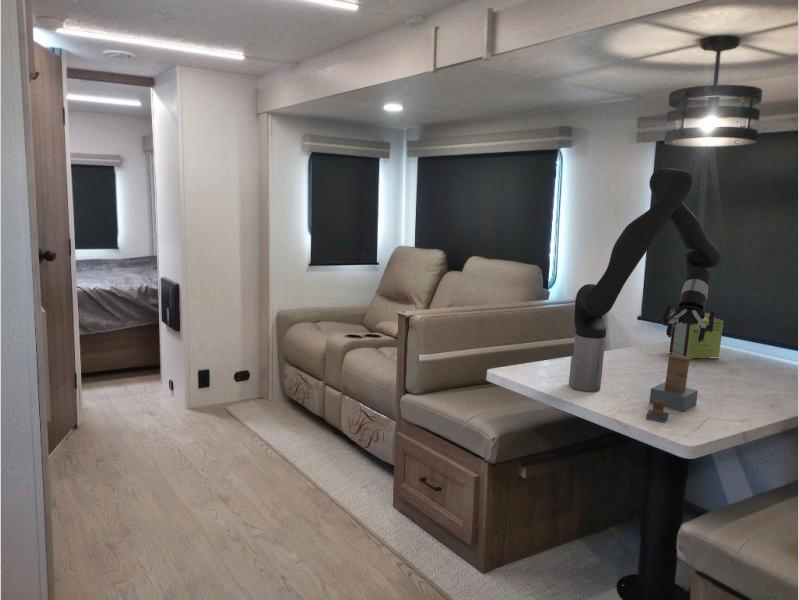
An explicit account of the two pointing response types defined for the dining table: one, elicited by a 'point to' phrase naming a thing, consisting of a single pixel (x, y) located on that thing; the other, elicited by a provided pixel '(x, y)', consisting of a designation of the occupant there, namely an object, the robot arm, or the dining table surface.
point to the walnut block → (677, 373)
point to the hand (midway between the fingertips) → (684, 338)
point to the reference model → (657, 412)
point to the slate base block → (674, 398)
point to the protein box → (696, 340)
